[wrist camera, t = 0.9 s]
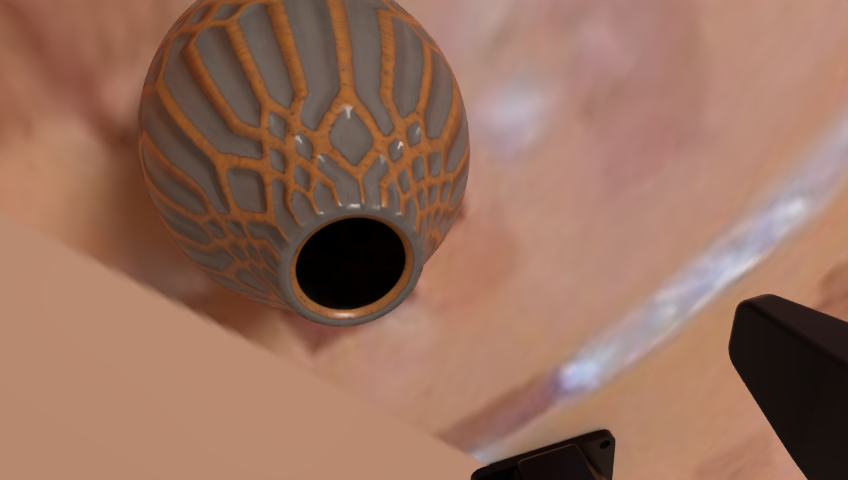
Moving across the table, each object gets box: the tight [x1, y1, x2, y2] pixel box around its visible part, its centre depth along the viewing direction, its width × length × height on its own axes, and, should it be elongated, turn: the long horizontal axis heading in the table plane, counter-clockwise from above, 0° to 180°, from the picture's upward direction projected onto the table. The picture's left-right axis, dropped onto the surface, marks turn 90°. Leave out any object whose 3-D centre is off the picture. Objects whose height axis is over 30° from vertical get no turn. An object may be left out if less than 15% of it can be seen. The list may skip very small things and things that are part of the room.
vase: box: [137, 0, 470, 327], centre depth 14 cm, size 7×7×9 cm
